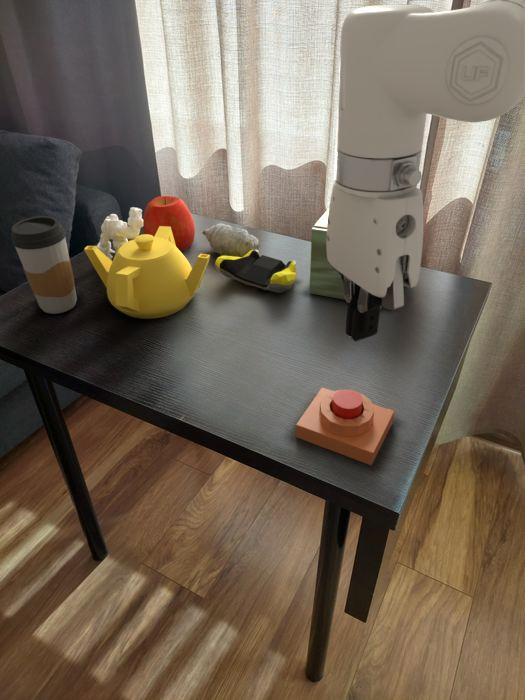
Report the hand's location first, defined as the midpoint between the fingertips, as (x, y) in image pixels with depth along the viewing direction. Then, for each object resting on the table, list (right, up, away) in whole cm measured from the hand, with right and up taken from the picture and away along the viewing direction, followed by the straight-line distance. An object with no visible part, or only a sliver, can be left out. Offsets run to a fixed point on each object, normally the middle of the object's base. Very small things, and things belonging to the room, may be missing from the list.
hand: (361, 334), depth 58 cm
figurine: (-38, +15, +46) cm, 62 cm away
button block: (-1, -12, +8) cm, 15 cm away
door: (+3, +6, +32) cm, 32 cm away
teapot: (-30, +7, +35) cm, 47 cm away
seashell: (-18, +18, +49) cm, 55 cm away
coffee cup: (-47, +6, +35) cm, 59 cm away
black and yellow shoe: (-11, +10, +39) cm, 42 cm away
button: (-1, -9, +6) cm, 11 cm away
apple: (-30, +20, +53) cm, 64 cm away
